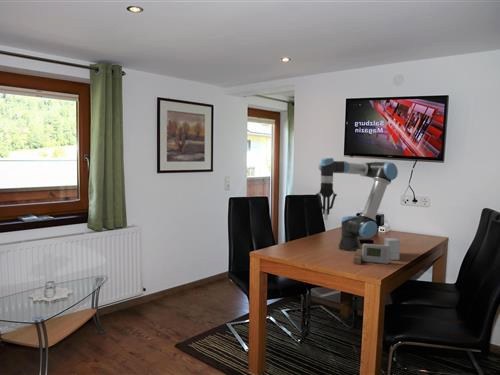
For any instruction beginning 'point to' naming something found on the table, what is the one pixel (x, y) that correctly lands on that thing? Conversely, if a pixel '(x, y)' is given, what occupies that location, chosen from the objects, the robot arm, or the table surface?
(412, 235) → the table surface
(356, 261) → the walnut batten
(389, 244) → the supplement box
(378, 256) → the digital clock
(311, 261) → the table surface
